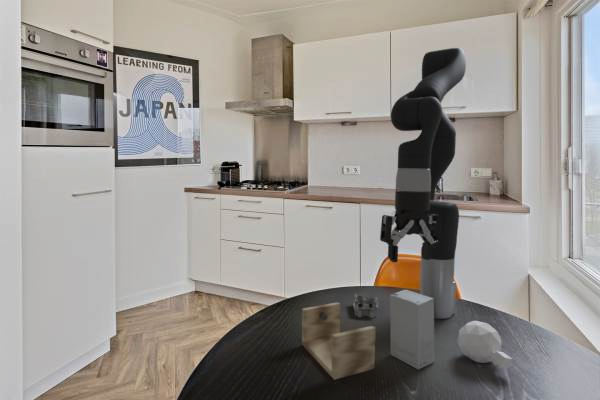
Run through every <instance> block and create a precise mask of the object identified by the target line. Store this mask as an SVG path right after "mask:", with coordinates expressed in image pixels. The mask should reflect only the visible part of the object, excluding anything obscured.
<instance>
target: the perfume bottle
mask: <svg viewBox="0 0 600 400" xmlns="http://www.w3.org/2000/svg"><path fill="white" fill-rule="evenodd" d="M457 344H458V346H459V348H460V349H461V350H460V351H461V352H462V353H463V355H464V356H466V357H467V358H469V359H470V360H472V361H474V362H476V363H481V364H485V363H486V364H487V363H491V362H493V363H494V364H496V365H497V366H498V367H499V368H500V369H509V368H510V365H511V363H512V361H513V358H512V357H510V356H509V355H508V354H506V353H505V352H503V351H502V339H501V337H500V334H499V333H498V331H497V330H496V329H495V328H494V327H493V326H491V325H490V324H489V323H488V322H487V323H486V322H482V321H479V320H472V321H469V322H467V323H465V325H463V326H462V327H460V329H459V330H458V337H457Z"/></svg>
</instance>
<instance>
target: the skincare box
mask: <svg viewBox="0 0 600 400" xmlns="http://www.w3.org/2000/svg"><path fill="white" fill-rule="evenodd" d="M389 323H390V325H389V326H390V327H389V330H390V356H392V357H394V358H397V359H398V360H399V361H401V362H404V363H405V364H407V365H409V366H411V367H413V368H415V369H416V370H420V369H422V368H424V367H427V366H429V365H432V364H433V363H434V362H435V318H434V298H431V297H427V296H424V295H421V294H420V293H417V292H415V291H412V290H408V289H403V290H401V291H397V292H394V293H392V294H390V295H389Z"/></svg>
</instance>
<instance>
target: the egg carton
mask: <svg viewBox="0 0 600 400" xmlns="http://www.w3.org/2000/svg"><path fill="white" fill-rule="evenodd" d="M358 303H360V304H358ZM361 304H362V305H361ZM369 304H372V305H371V306H372V307H370V305H369ZM352 305H353V311H354V316H355V317H358V318H362V317H368V318H370V319H373V318H377V317H378V308H379V298H378V297H373V296H371V297H369V296H366V298H363V296H362V295H361V294H357V292H355V293H354V299H353V304H352ZM359 305H361V307H360V309H359Z"/></svg>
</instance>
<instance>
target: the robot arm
mask: <svg viewBox="0 0 600 400" xmlns="http://www.w3.org/2000/svg"><path fill="white" fill-rule="evenodd" d="M466 59H467V58H466V54H465V51H464V50H463V49H462V48H459V47H452V48H445V49H439V50H438V49H437V50H434V51H433V50H432V51H428V52H426V53H424V55H423V58H422V63H421V80H420V81H419V82H418V83H417V85H416V86H415V88H414V89H413V90H410V91H409V92H407V93H406V94H404V95H402V96H400V97H399V99H397V100H396V101H395V102H394V104H393V106H392V109H391V112H390V121H391V124H392V126H393V127H394V128H395V129H396V130H398V131H400V132H414V131H416V132H417V131H421V132H420V134H418V137H417V138H415V139H412V140H407V141H404V142H402V143H400V144H399V146H398V149H397V151H398V152H397V168H396V169H397V171H396V177H395V190H394V191H395V195H394V197H395V199H394V211H395V213H394V215H387V214H383V215H382V216H381V224H380V225H381V226H380V236H379V240H380V242H383V243H386V244H387V245H388V246H387V257H388V259H389V261H390V262H392V263H397V262H398V260H399V259H398V258H399V257H398V256H399V246H398V244H399V242H400V241H401V240H402V239H404V237H405V236H407V235H408V236H411V235H413V234H414V235H418V236H419V237H420V238H421V240H422V241H423V242H422V243H421V244H422V246H421V249H420V251H421V252H420V273H419V274H420V277H419V278H420V279H419V280H420V281H419V294H421V295H424V296H427V297H431V298H434V319H438V320H439V319H440V320H441V319H442V320H445V319H450V318H451V317H452V316H453V315H454V314H456V313H455V312H456V295H457V294H456V293H457V282H456V281H454V280H455V259H456V249H457V245H458V244H457V243H458V231H459V222H460V221H459V219H460V212H459V207H458V205H457V204H456V203H454V202H452V201H451V202H450V201H440V200H438V201H437V200H435V194H436V190H437V186H438V183H439V182H440V180H441V178H442V177H443V175H444V173H446V171H447V170H448V168H449V167H450V165H451V163H452V162H453V160H454V158H455V155H456V144H457V142H456V139H457V132H456V128H455V127H454V125H453V123H452V121H451V120H450V118H449V117H448V115H447V113H446V112H445V111H444V109H443V107H442V101H443V100H444V98H445V96H446V95H447V94H448V93H449V92H450V91H451V90H452V89H454V87H456V85H458V84H459V83H460V82H462V80H463V79H464V76H465V73H466V71H467V70H466V68H467V61H466ZM394 224H395V226H394V227H393V225H394Z"/></svg>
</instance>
